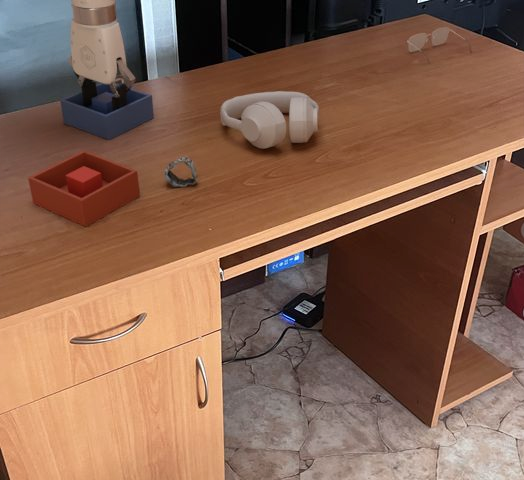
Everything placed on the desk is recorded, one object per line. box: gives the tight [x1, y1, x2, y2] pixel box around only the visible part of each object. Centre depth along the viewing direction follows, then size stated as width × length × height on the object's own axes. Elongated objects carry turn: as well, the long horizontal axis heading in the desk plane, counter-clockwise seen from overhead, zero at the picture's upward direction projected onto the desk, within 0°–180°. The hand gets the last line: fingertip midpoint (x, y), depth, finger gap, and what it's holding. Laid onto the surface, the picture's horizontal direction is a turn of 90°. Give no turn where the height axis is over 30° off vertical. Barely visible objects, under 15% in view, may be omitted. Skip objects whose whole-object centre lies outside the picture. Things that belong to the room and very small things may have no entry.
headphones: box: [219, 90, 320, 149], centre depth 146 cm, size 18×8×20 cm
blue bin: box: [59, 82, 155, 141], centre depth 150 cm, size 12×12×5 cm
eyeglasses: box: [406, 26, 473, 64], centre depth 180 cm, size 14×8×4 cm, turn 124°
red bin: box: [27, 149, 141, 228], centre depth 127 cm, size 12×12×5 cm
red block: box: [66, 166, 103, 198], centre depth 127 cm, size 4×4×4 cm
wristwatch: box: [164, 155, 198, 188], centre depth 131 cm, size 3×5×5 cm
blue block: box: [92, 92, 114, 114], centre depth 150 cm, size 4×4×4 cm
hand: (105, 109), depth 150 cm, fingers open, 7 cm apart
